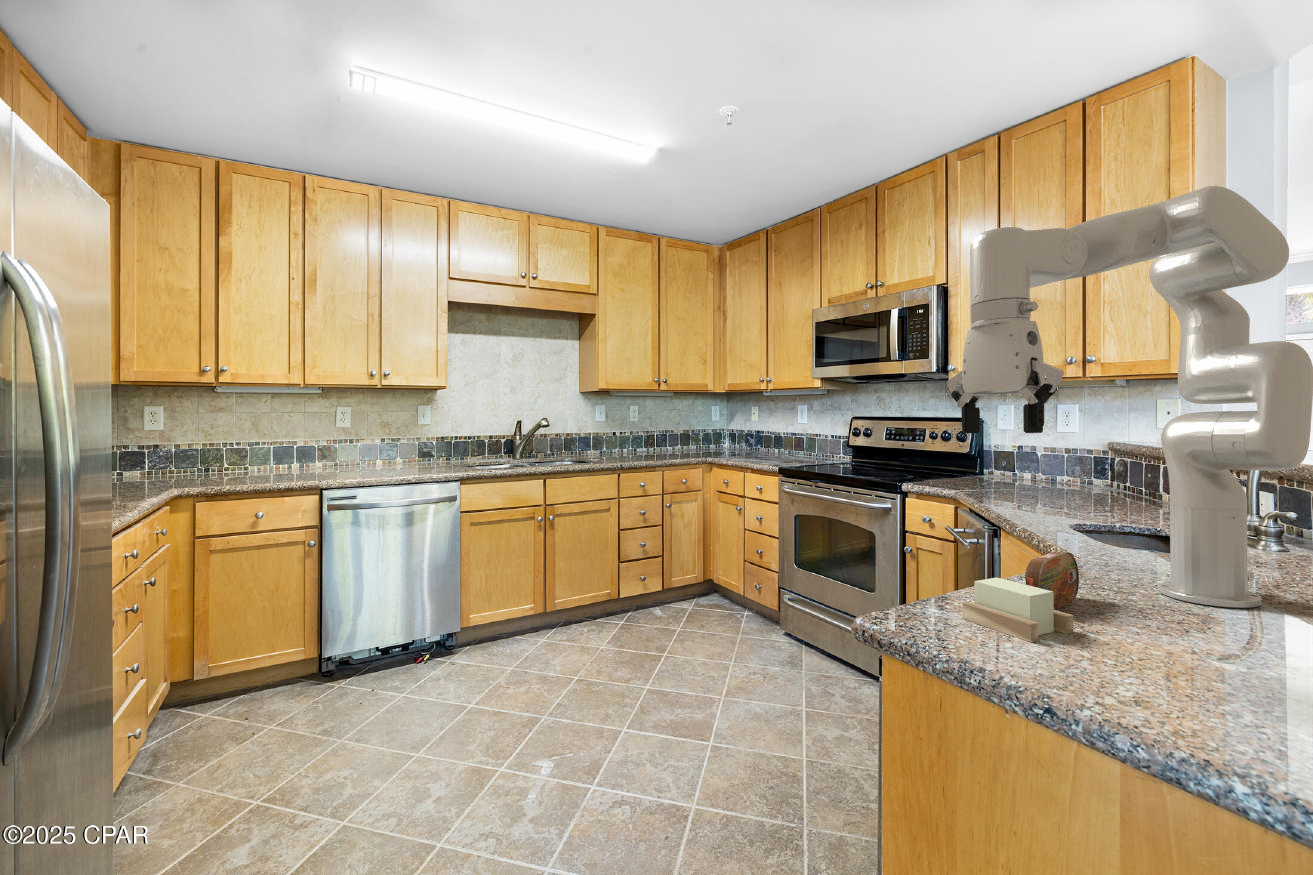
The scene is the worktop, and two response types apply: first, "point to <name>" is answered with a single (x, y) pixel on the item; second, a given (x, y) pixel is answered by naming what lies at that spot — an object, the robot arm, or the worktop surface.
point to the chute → (1013, 621)
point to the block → (1017, 601)
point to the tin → (1055, 576)
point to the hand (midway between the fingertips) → (1000, 433)
